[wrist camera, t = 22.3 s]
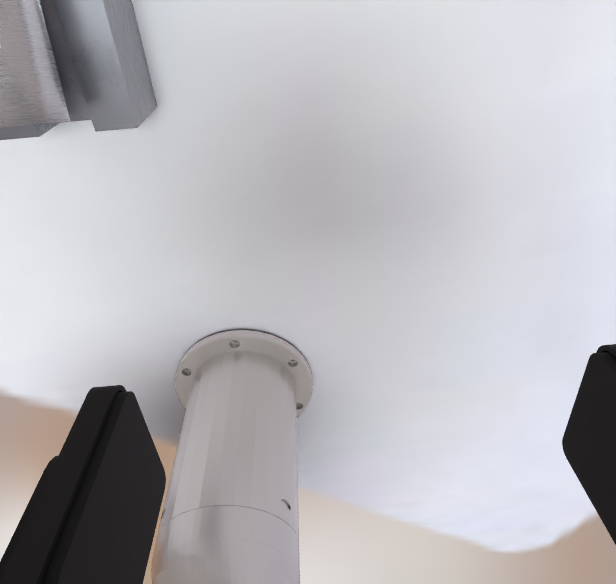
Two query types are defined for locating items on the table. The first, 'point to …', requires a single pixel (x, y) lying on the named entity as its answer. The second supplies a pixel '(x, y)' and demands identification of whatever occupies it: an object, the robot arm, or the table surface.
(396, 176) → the table surface
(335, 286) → the table surface
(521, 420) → the table surface
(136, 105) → the v block
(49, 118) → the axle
